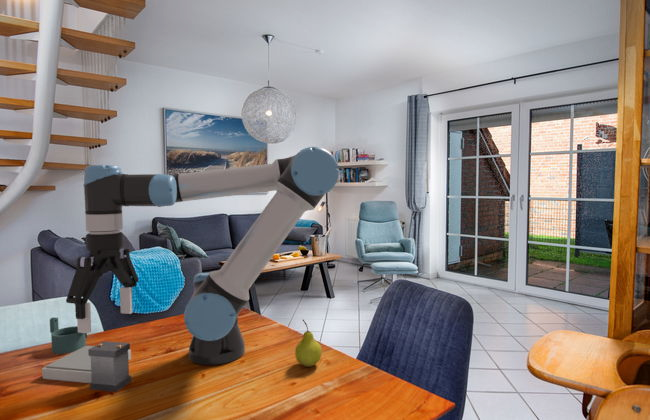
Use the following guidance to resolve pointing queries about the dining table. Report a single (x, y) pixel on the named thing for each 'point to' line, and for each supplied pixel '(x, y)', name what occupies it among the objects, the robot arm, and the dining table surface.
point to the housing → (109, 366)
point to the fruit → (308, 350)
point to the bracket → (65, 338)
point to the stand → (72, 367)
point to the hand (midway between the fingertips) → (106, 322)
